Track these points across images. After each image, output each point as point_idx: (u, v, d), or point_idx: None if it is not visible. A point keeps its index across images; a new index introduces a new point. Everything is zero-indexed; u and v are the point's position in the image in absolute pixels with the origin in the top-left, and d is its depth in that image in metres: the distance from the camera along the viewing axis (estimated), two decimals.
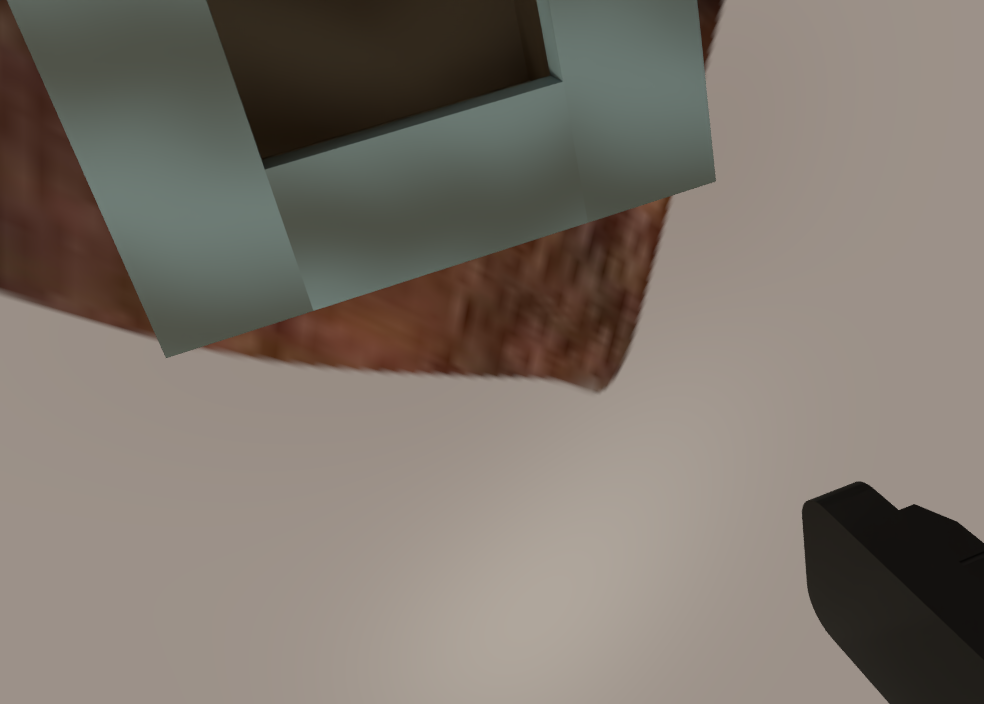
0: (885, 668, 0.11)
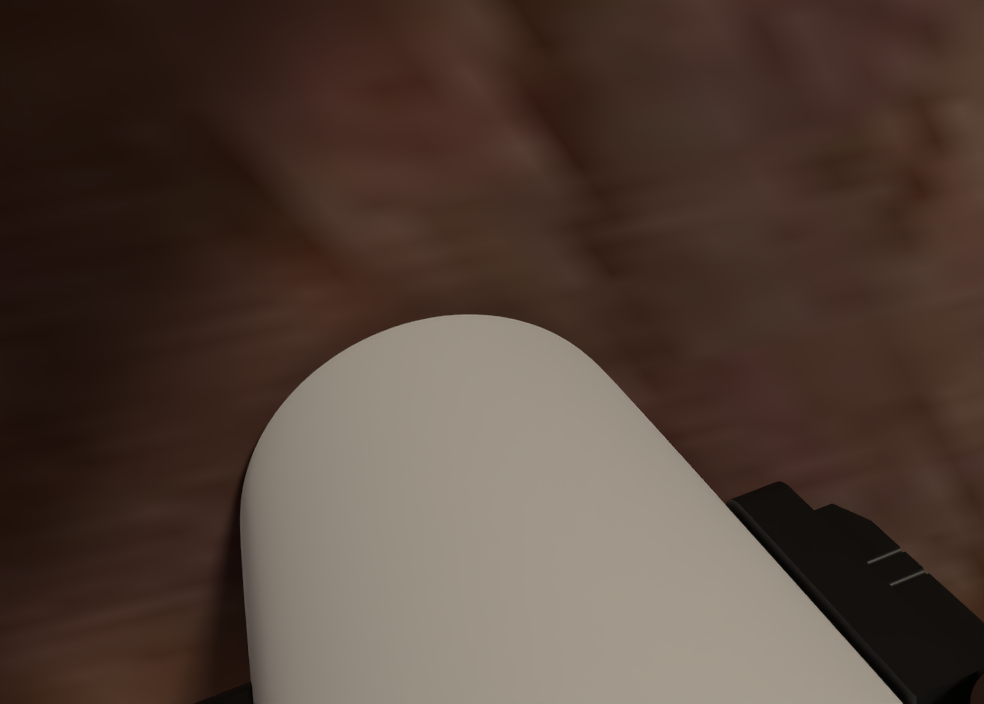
0: None
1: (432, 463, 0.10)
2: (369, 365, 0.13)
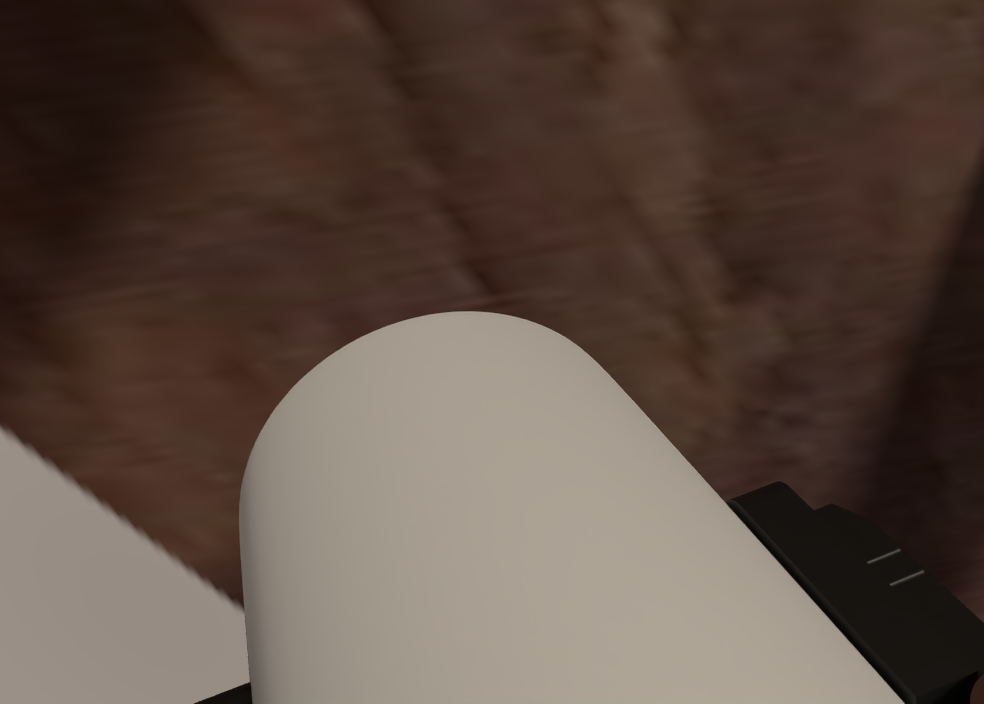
0: None
1: (430, 459, 0.10)
2: (367, 361, 0.13)
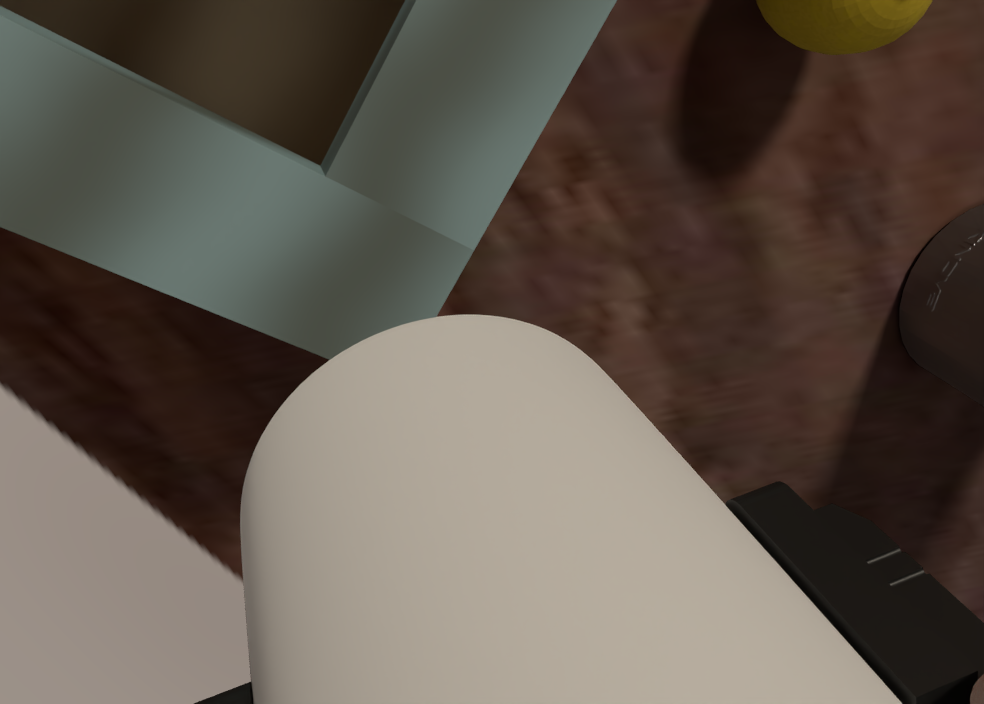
0: None
1: (432, 462, 0.10)
2: (369, 365, 0.13)
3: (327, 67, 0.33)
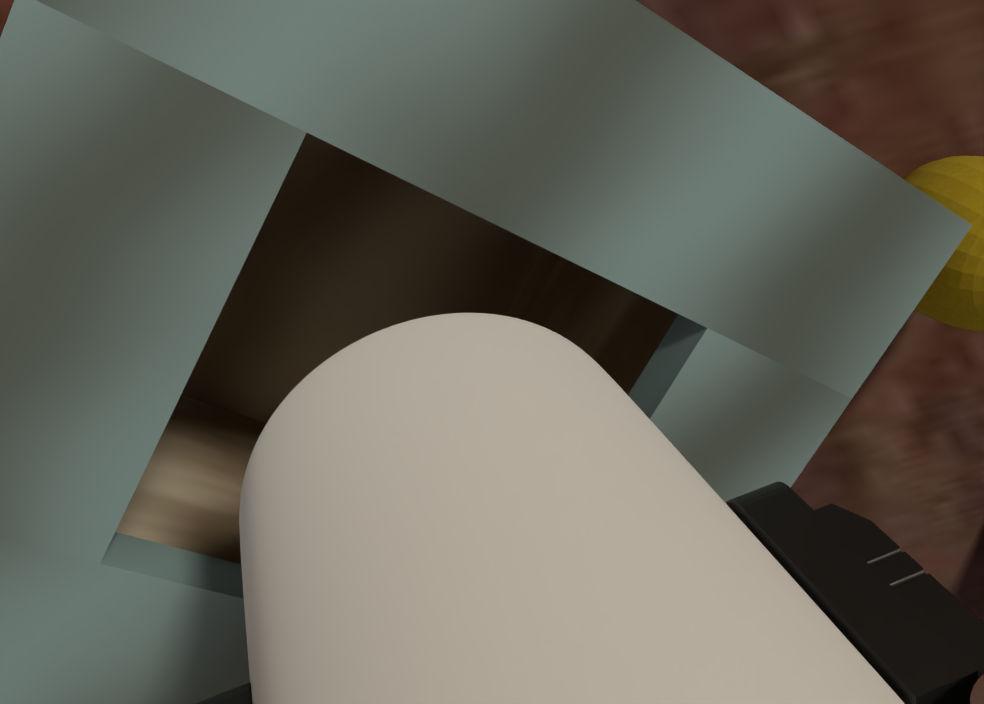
0: None
1: (431, 461, 0.10)
2: (368, 363, 0.13)
3: None
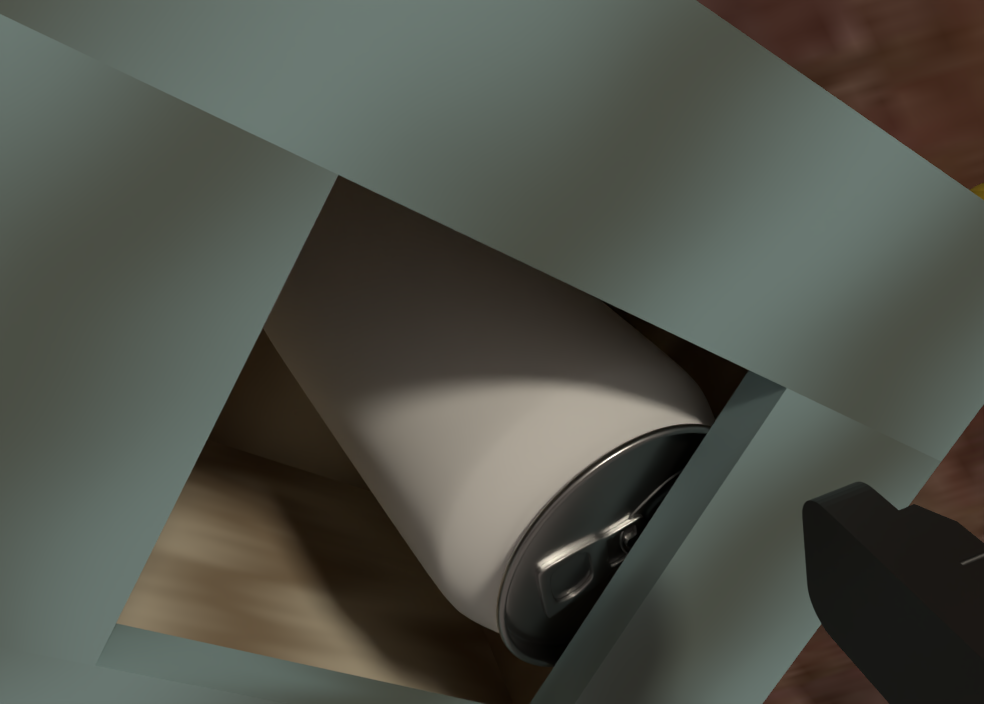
0: (885, 668, 0.11)
1: (389, 231, 0.20)
2: None
3: None
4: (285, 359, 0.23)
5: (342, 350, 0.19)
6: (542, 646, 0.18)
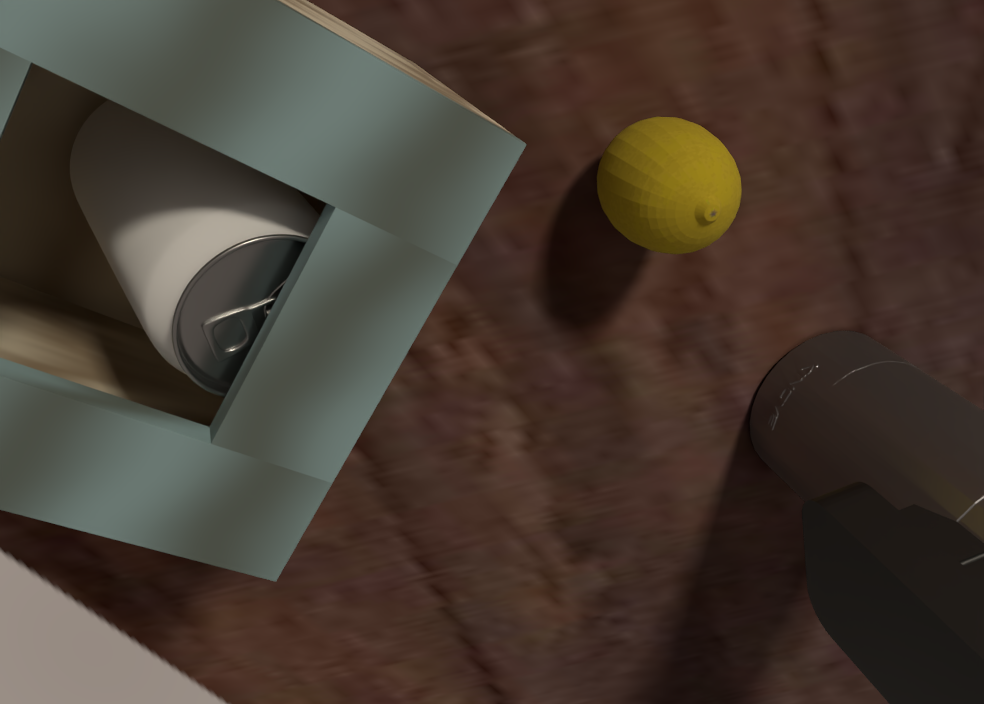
0: (885, 668, 0.11)
1: (146, 129, 0.31)
2: (119, 104, 0.33)
3: None
4: None
5: (107, 203, 0.30)
6: (222, 385, 0.28)
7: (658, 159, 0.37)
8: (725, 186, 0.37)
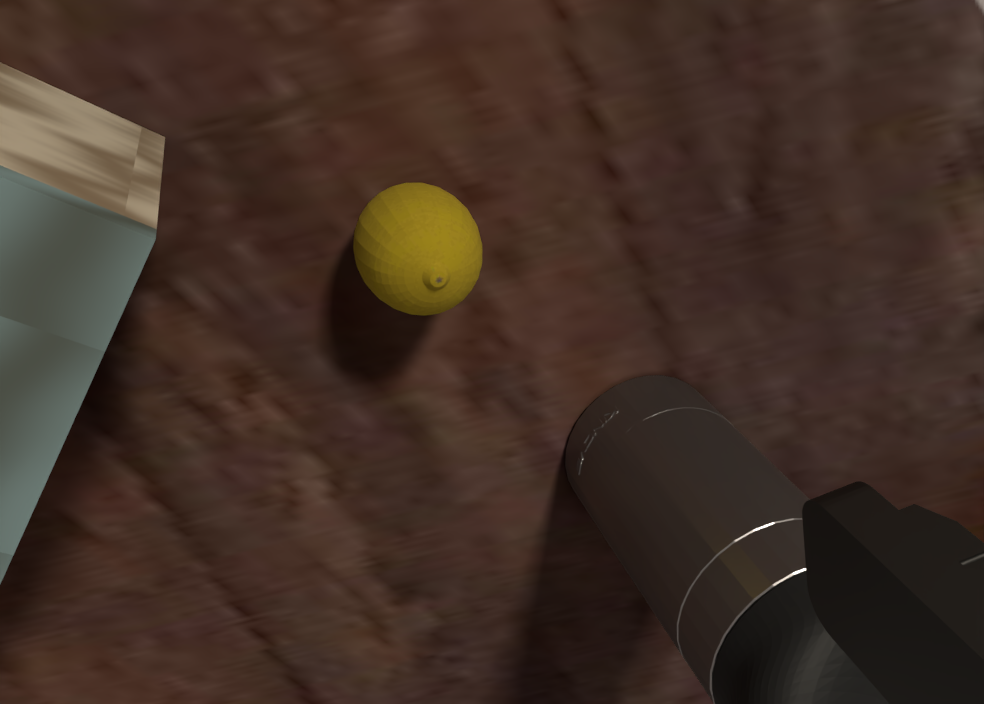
0: (885, 668, 0.11)
1: None
2: None
3: None
4: None
5: None
6: None
7: (388, 227, 0.38)
8: (452, 253, 0.38)
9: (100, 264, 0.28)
